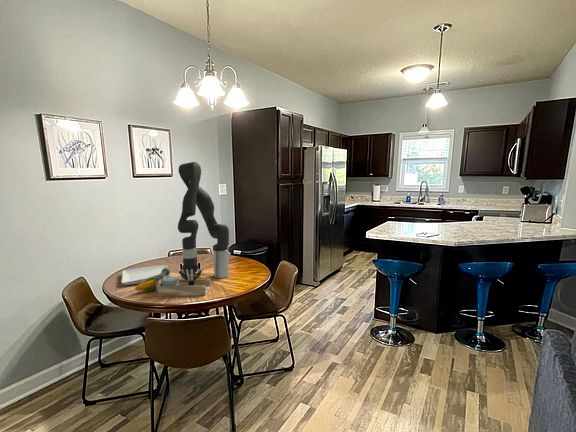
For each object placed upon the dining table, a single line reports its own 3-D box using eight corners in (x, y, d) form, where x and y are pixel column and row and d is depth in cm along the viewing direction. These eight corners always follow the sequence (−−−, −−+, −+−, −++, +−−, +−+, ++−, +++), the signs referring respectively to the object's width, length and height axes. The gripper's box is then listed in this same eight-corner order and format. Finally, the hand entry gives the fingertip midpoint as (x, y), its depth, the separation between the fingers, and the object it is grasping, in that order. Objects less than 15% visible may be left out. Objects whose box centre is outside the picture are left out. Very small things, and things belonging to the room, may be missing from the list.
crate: (167, 287, 172) (166, 276, 171) (179, 287, 172) (179, 276, 171) (162, 291, 165) (161, 280, 164) (175, 291, 165) (175, 280, 165)
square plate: (122, 275, 200) (122, 269, 200) (167, 269, 212) (166, 264, 212) (121, 288, 176) (120, 281, 176) (171, 280, 189) (171, 274, 188)
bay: (163, 287, 176) (161, 268, 174) (211, 286, 176) (210, 267, 175) (153, 296, 162) (151, 275, 161) (205, 295, 163) (204, 274, 161)
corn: (171, 272, 178) (138, 282, 162) (173, 285, 178) (139, 296, 162) (164, 271, 182) (130, 280, 166) (165, 284, 183) (132, 294, 167)
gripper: (203, 254, 170) (205, 284, 173) (180, 254, 171) (182, 284, 173) (199, 257, 163) (201, 289, 165) (175, 258, 163) (177, 289, 165)
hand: (191, 286), depth 169 cm, fingers closed
